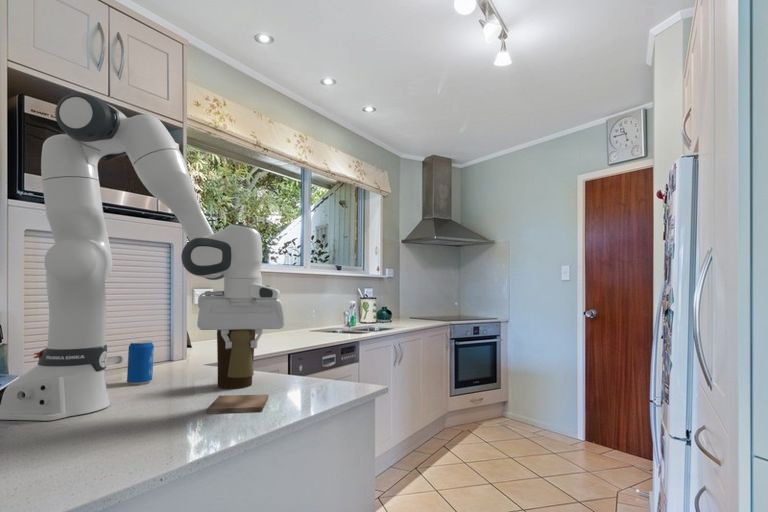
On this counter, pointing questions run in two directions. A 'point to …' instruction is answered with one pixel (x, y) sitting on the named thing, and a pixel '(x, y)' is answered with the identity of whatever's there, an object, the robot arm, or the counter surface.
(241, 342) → the cork
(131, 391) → the counter surface
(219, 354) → the olive oil
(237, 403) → the walnut trivet
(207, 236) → the robot arm
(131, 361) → the beverage can
